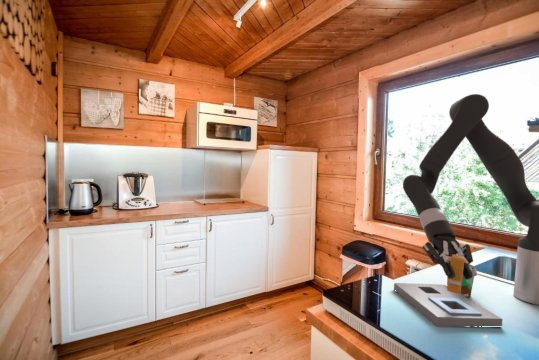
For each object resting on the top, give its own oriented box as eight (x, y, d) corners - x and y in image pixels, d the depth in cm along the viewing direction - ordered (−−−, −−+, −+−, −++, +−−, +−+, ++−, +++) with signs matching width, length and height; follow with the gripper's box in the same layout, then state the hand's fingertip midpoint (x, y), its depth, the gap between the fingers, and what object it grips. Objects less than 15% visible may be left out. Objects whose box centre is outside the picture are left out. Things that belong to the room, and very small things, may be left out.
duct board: (444, 291, 95) (444, 283, 95) (501, 328, 73) (502, 317, 73) (393, 290, 94) (394, 281, 94) (436, 326, 72) (437, 315, 72)
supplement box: (461, 294, 76) (465, 259, 76) (447, 291, 78) (450, 256, 78) (461, 290, 79) (464, 256, 79) (446, 287, 81) (449, 253, 80)
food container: (483, 303, 88) (485, 272, 87) (461, 300, 89) (464, 269, 89) (463, 287, 100) (466, 260, 100) (445, 285, 101) (447, 258, 101)
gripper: (420, 217, 85) (444, 270, 73) (464, 220, 86) (494, 273, 74) (409, 230, 90) (429, 282, 79) (450, 233, 91) (476, 284, 80)
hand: (460, 277), depth 76 cm, fingers closed on supplement box, 4 cm apart
